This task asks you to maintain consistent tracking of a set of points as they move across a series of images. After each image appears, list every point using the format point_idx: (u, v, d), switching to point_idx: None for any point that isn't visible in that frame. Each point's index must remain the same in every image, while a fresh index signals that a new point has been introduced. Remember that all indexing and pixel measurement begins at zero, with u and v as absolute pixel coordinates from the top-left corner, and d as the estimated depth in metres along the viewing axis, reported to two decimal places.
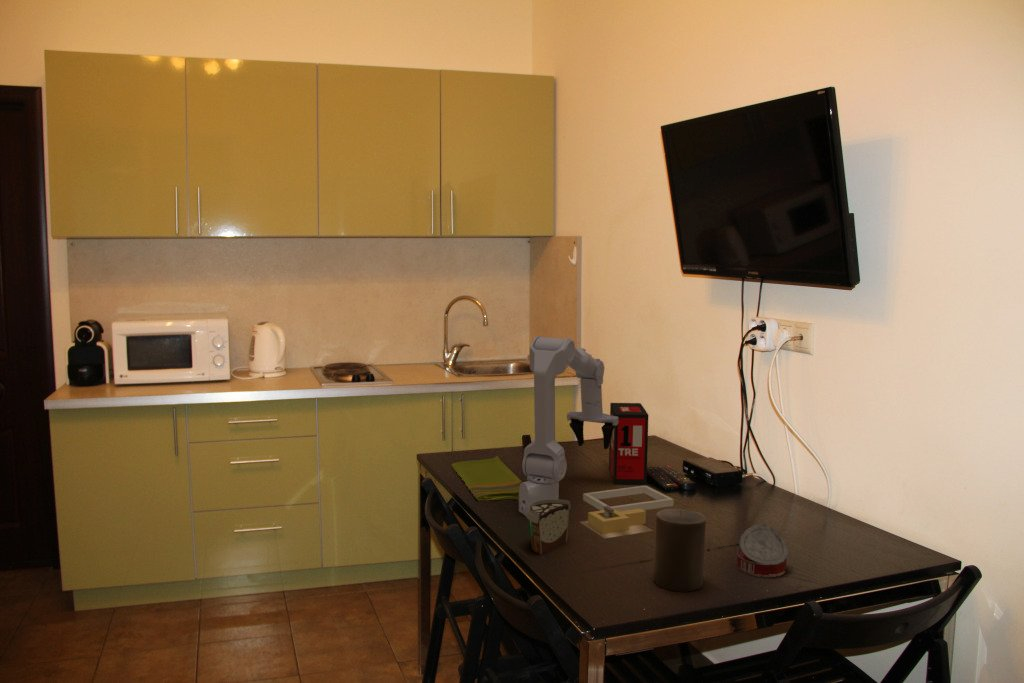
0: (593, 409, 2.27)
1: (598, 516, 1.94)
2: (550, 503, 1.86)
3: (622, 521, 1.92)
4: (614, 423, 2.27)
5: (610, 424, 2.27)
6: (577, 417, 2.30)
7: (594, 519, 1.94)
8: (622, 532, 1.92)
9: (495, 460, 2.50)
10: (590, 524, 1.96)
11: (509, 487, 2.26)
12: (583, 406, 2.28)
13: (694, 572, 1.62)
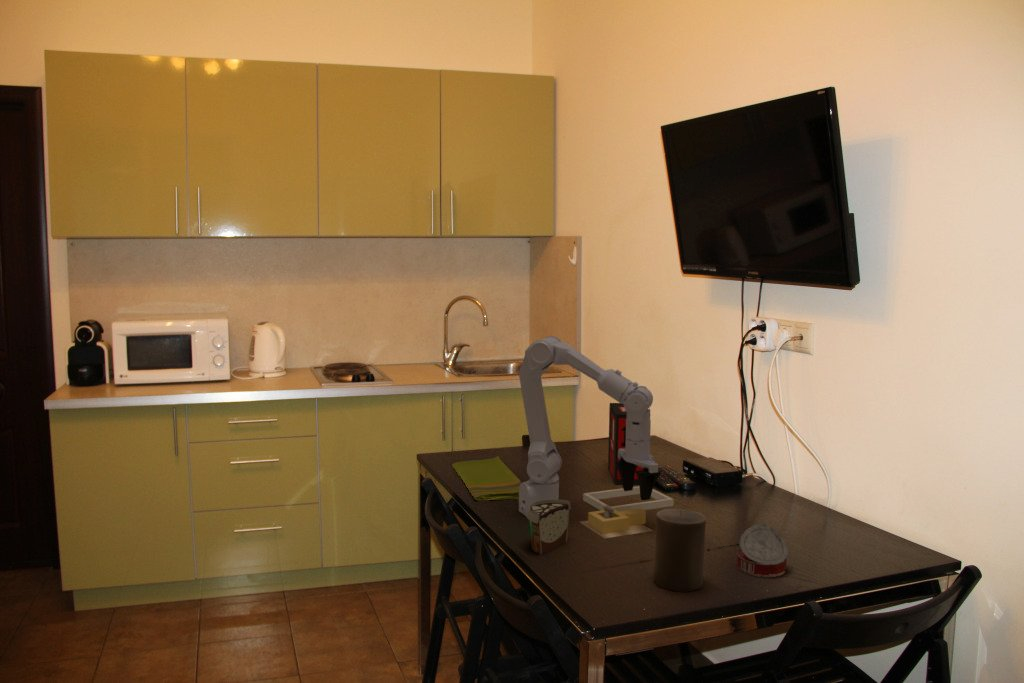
0: (631, 448, 1.94)
1: (598, 516, 1.94)
2: (550, 503, 1.86)
3: (622, 521, 1.92)
4: (649, 470, 1.90)
5: (647, 470, 1.91)
6: (622, 455, 1.99)
7: (594, 519, 1.94)
8: (622, 532, 1.92)
9: (496, 460, 2.50)
10: (590, 524, 1.96)
11: (508, 487, 2.26)
12: None
13: (694, 572, 1.62)
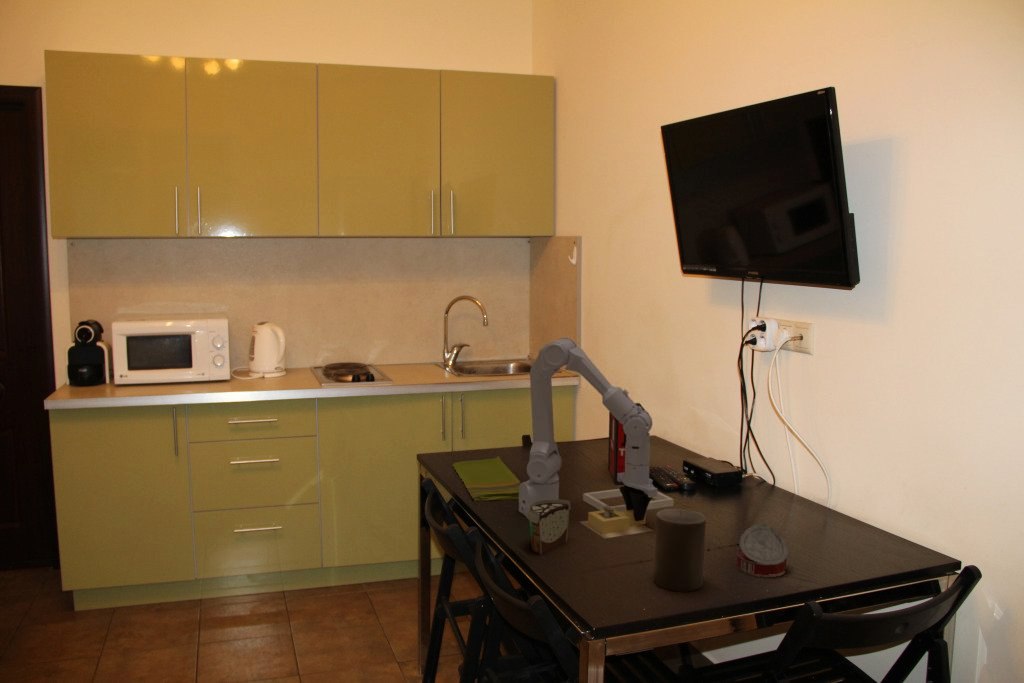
0: (631, 472, 1.94)
1: (598, 516, 1.94)
2: (550, 503, 1.86)
3: (622, 521, 1.92)
4: (648, 494, 1.91)
5: (641, 492, 1.94)
6: (621, 478, 2.00)
7: (594, 519, 1.94)
8: (622, 532, 1.92)
9: (496, 460, 2.50)
10: (590, 524, 1.96)
11: (507, 488, 2.25)
12: None
13: (694, 572, 1.62)
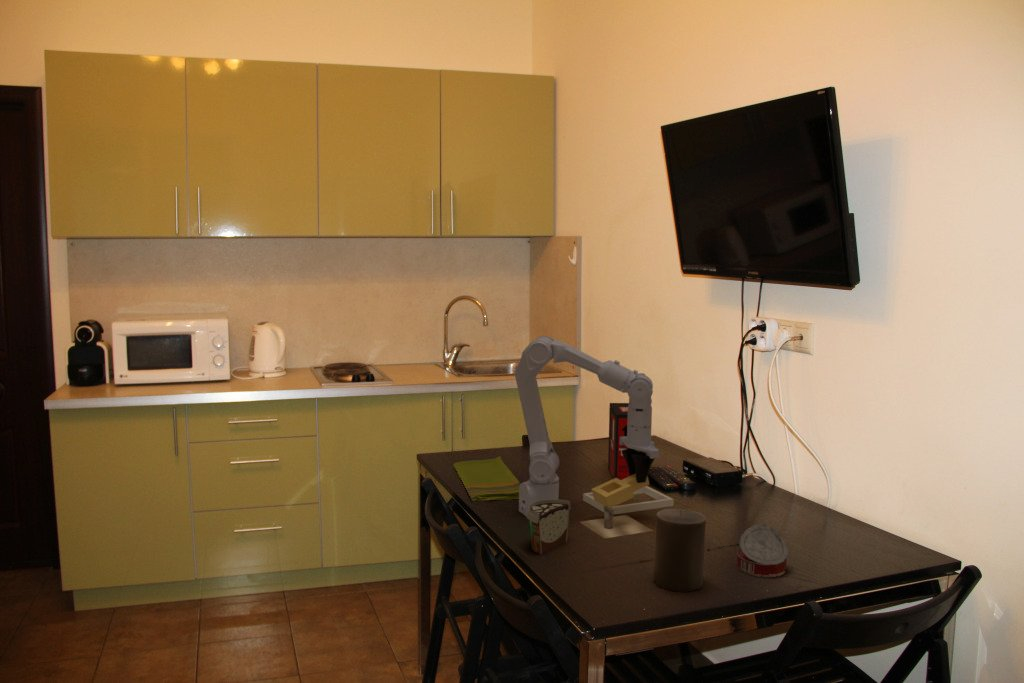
0: (633, 434, 1.97)
1: (601, 492, 1.97)
2: (550, 503, 1.86)
3: (625, 491, 1.95)
4: (650, 455, 1.93)
5: (643, 454, 1.96)
6: (624, 441, 2.02)
7: (598, 495, 1.97)
8: (622, 532, 1.92)
9: (497, 460, 2.50)
10: (596, 499, 1.99)
11: (506, 488, 2.25)
12: (627, 428, 2.00)
13: (694, 572, 1.62)
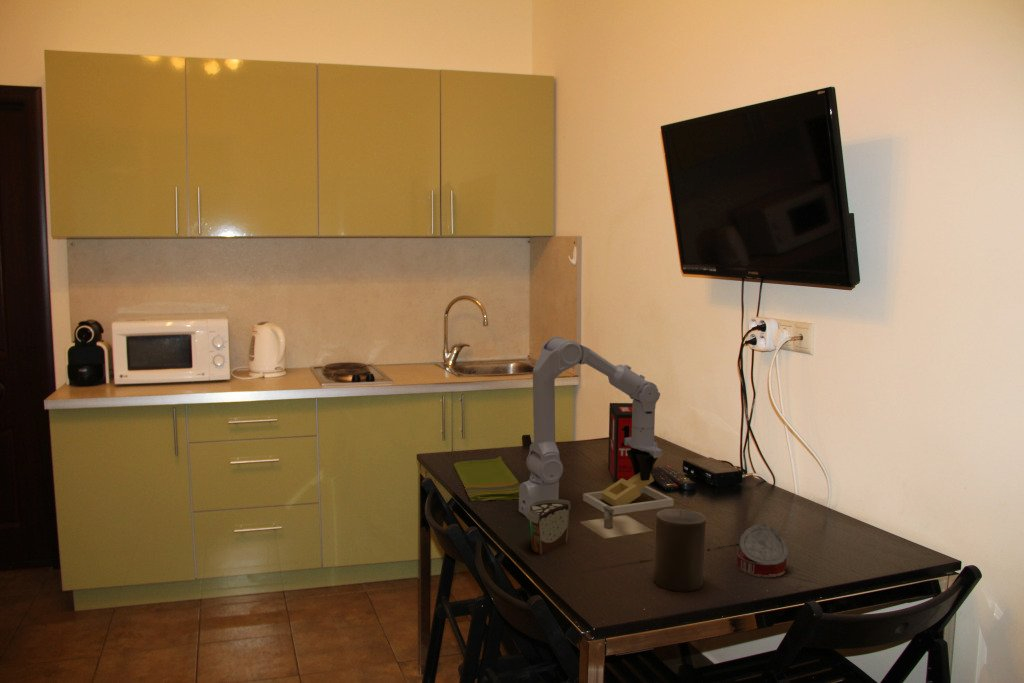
0: (637, 435, 2.11)
1: (610, 495, 2.11)
2: (550, 503, 1.86)
3: (632, 491, 2.10)
4: (654, 455, 2.07)
5: (646, 453, 2.10)
6: (628, 442, 2.16)
7: (607, 498, 2.12)
8: (622, 532, 1.92)
9: (497, 460, 2.50)
10: (606, 501, 2.14)
11: (505, 488, 2.25)
12: None
13: (694, 572, 1.62)
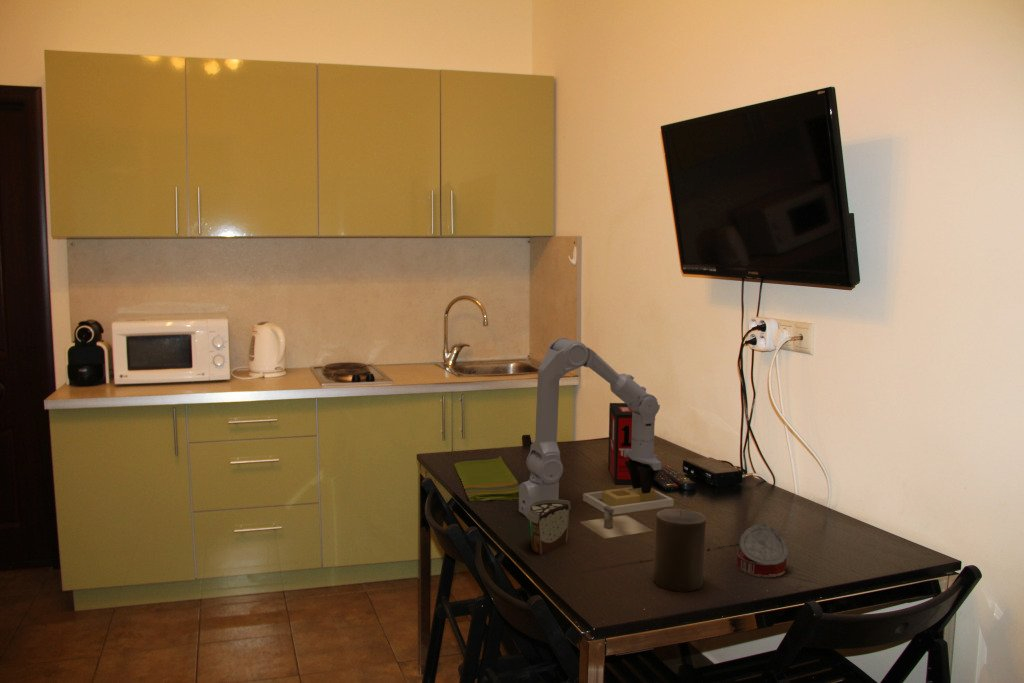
0: (637, 447, 2.11)
1: (611, 494, 2.11)
2: (550, 503, 1.86)
3: (633, 498, 2.10)
4: (653, 467, 2.07)
5: (648, 466, 2.10)
6: (628, 454, 2.16)
7: (608, 497, 2.12)
8: (622, 532, 1.92)
9: (498, 460, 2.50)
10: (604, 501, 2.13)
11: (505, 488, 2.25)
12: (631, 442, 2.14)
13: (694, 572, 1.62)
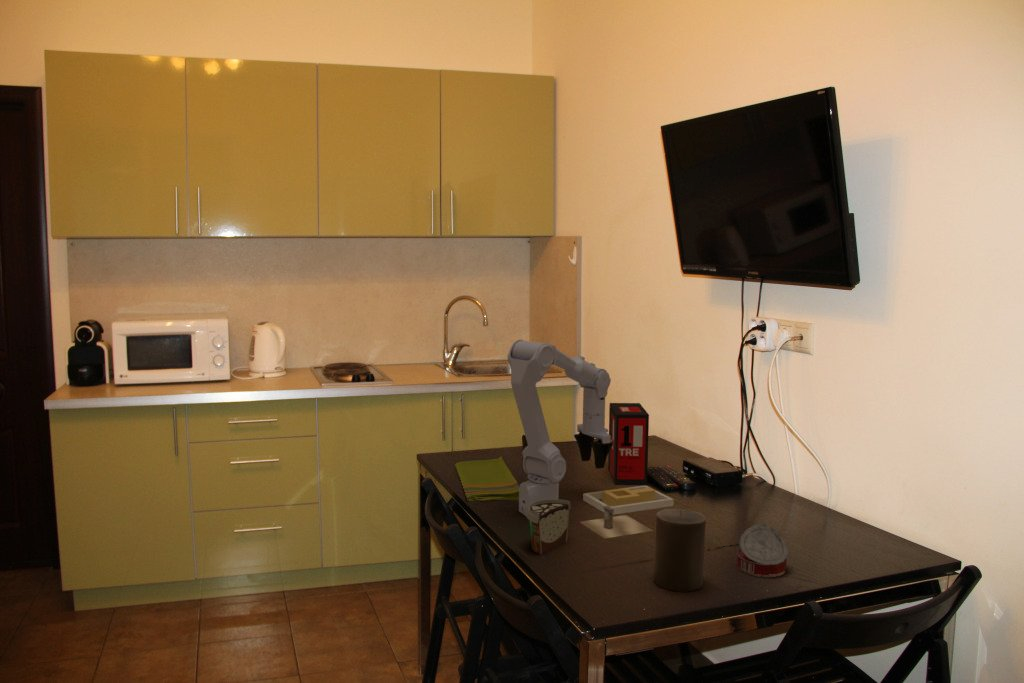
0: (587, 421, 2.15)
1: (611, 494, 2.11)
2: (550, 503, 1.86)
3: (633, 498, 2.10)
4: (602, 440, 2.11)
5: (600, 441, 2.12)
6: (580, 428, 2.20)
7: (608, 497, 2.12)
8: (622, 532, 1.92)
9: (498, 461, 2.50)
10: (604, 501, 2.13)
11: (503, 488, 2.25)
12: None
13: (694, 572, 1.62)
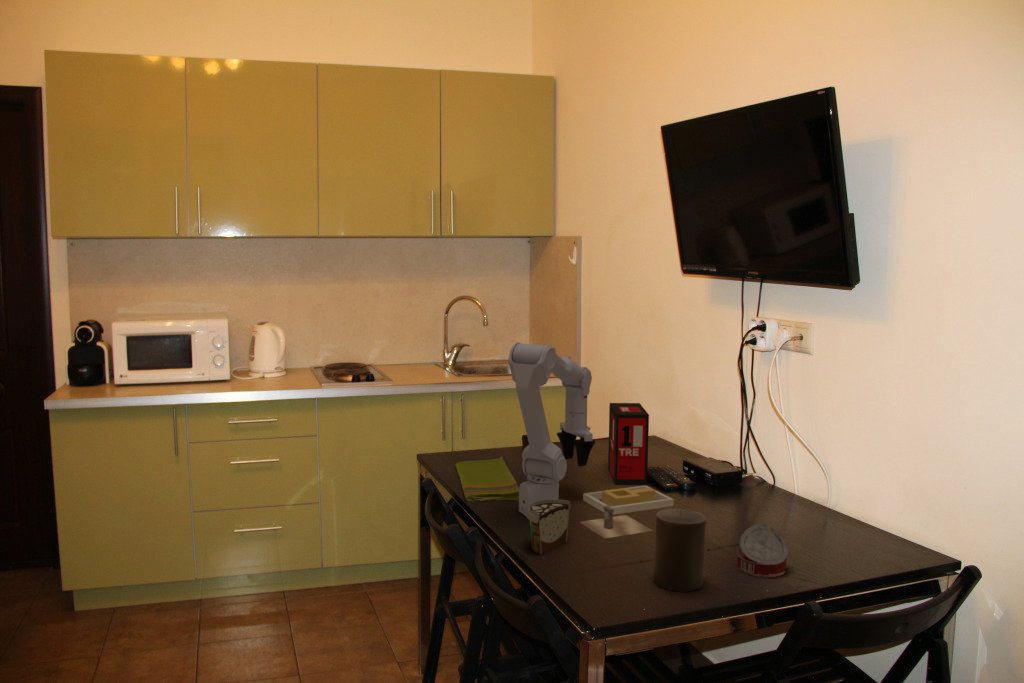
0: (570, 419, 2.16)
1: (611, 494, 2.11)
2: (550, 503, 1.86)
3: (633, 498, 2.10)
4: (584, 438, 2.12)
5: (583, 439, 2.14)
6: (563, 427, 2.21)
7: (608, 497, 2.12)
8: (622, 532, 1.92)
9: (499, 461, 2.50)
10: (604, 501, 2.13)
11: (503, 488, 2.25)
12: None
13: (694, 572, 1.62)
